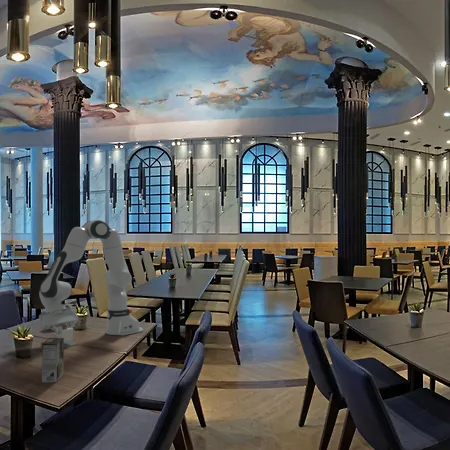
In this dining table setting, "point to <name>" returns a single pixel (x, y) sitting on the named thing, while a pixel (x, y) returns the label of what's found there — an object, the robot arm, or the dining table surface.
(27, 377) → the dining table surface
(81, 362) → the dining table surface
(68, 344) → the felt mat
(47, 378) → the coffee box
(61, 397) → the dining table surface
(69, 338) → the perfume bottle
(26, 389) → the dining table surface
